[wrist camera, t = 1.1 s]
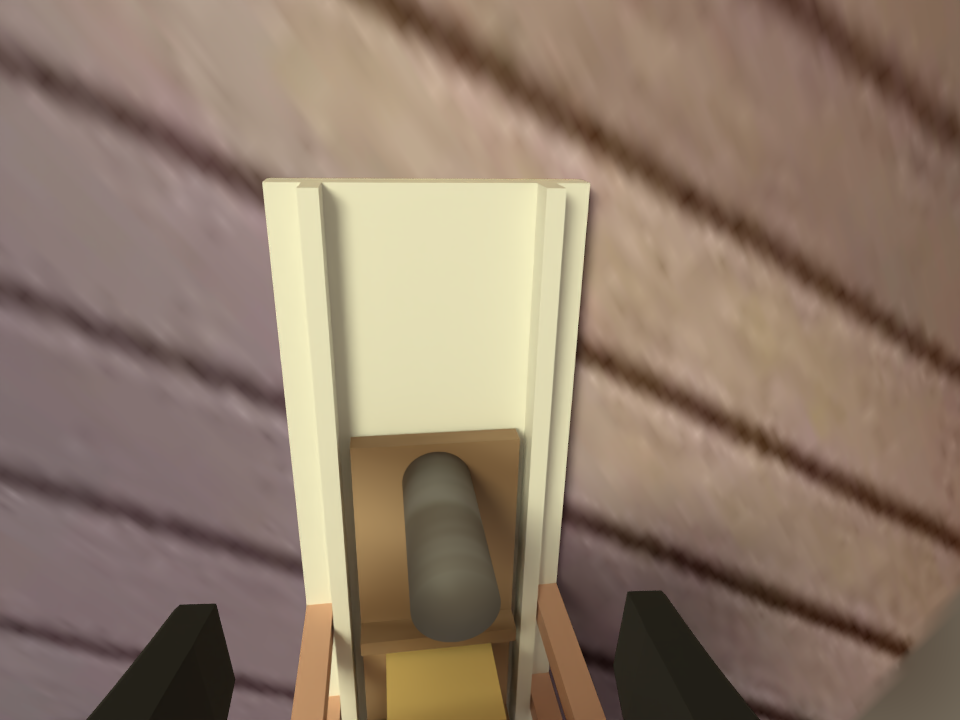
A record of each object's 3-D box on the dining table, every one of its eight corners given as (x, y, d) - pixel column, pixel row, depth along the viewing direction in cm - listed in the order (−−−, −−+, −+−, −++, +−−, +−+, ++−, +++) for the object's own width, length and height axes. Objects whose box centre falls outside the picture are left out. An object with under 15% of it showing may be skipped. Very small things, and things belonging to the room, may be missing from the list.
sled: (499, 747, 29) (533, 923, 23) (371, 763, 28) (369, 950, 22) (515, 428, 23) (566, 552, 17) (350, 437, 22) (340, 571, 16)
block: (485, 701, 27) (502, 797, 23) (389, 712, 26) (391, 813, 23) (487, 628, 25) (506, 719, 22) (385, 638, 25) (387, 733, 21)
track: (534, 811, 33) (581, 1028, 26) (331, 840, 32) (316, 1079, 24) (586, 179, 21) (707, 229, 13) (261, 178, 20) (185, 233, 12)
